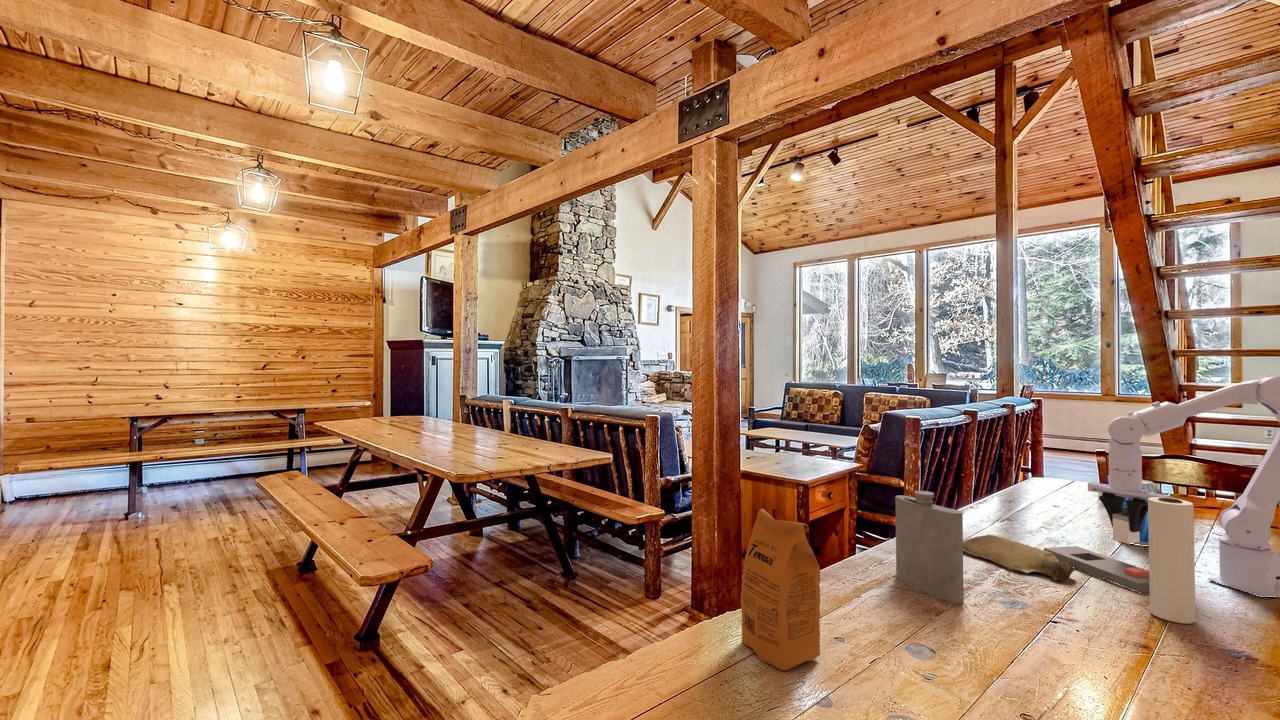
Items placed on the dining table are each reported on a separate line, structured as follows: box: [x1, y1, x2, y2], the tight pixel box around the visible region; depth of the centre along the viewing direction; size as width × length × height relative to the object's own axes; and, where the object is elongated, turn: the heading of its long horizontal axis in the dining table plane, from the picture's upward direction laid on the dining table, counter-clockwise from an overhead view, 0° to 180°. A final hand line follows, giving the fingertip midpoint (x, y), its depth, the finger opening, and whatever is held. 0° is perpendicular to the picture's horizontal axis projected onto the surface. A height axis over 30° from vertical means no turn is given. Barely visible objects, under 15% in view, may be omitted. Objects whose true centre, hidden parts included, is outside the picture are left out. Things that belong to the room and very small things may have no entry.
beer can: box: [1122, 479, 1159, 545], centre depth 143 cm, size 8×8×16 cm
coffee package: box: [740, 508, 821, 671], centre depth 90 cm, size 10×12×22 cm
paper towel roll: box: [1148, 495, 1197, 625], centre depth 101 cm, size 7×6×21 cm
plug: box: [1112, 507, 1140, 545], centre depth 126 cm, size 3×4×8 cm
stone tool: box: [963, 534, 1076, 583], centre depth 129 cm, size 12×4×25 cm
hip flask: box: [895, 490, 965, 605], centre depth 115 cm, size 16×4×20 cm, turn 18°
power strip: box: [1043, 545, 1150, 593], centre depth 123 cm, size 22×9×3 cm, turn 8°
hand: (1125, 529), depth 126 cm, fingers closed on plug, 3 cm apart
